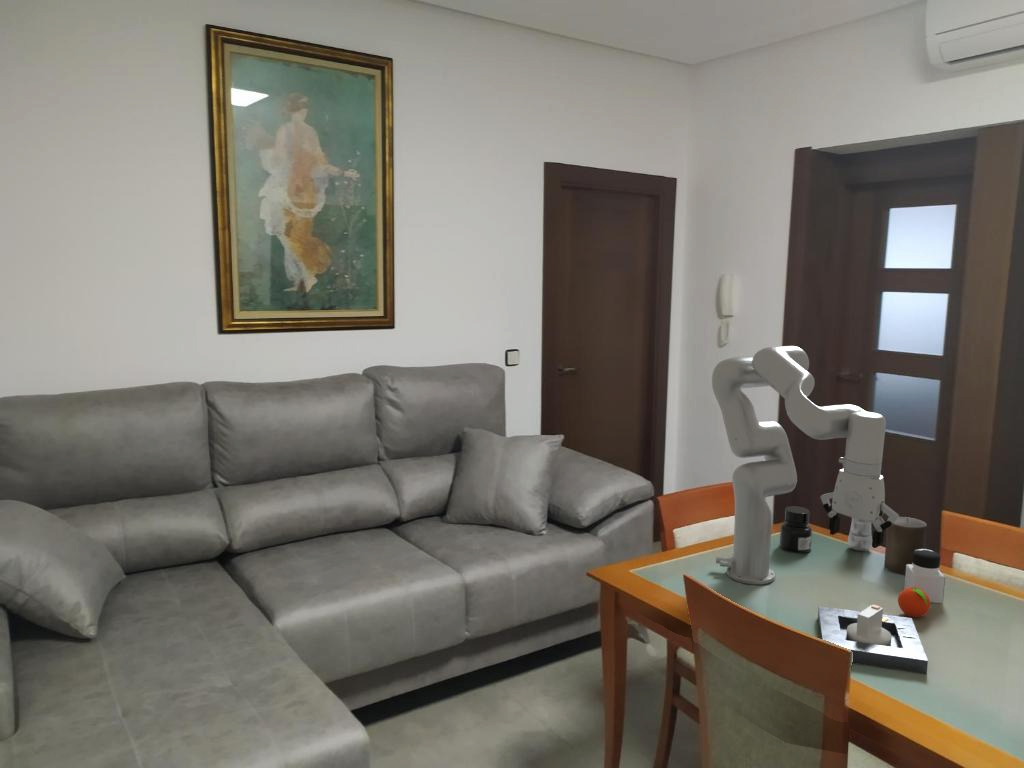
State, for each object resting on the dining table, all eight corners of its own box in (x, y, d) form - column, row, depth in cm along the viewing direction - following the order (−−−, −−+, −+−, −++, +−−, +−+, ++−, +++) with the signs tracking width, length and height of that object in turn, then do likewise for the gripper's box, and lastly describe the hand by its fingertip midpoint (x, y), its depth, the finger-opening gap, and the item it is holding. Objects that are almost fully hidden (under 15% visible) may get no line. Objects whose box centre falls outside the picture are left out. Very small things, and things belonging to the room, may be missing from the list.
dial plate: (822, 658, 163) (823, 644, 163) (817, 617, 182) (818, 605, 181) (926, 674, 157) (927, 659, 156) (910, 630, 175) (911, 617, 175)
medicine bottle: (943, 603, 189) (947, 558, 187) (912, 601, 190) (916, 556, 188) (933, 591, 196) (937, 547, 194) (903, 589, 197) (907, 545, 195)
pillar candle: (921, 578, 204) (926, 525, 202) (881, 571, 209) (885, 518, 207) (924, 567, 212) (928, 515, 210) (885, 560, 217) (889, 509, 215)
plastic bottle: (842, 545, 228) (847, 481, 225) (864, 545, 228) (869, 480, 225) (854, 553, 221) (858, 487, 218) (876, 553, 222) (881, 487, 219)
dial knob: (879, 652, 163) (882, 623, 162) (839, 637, 170) (841, 608, 168) (898, 639, 168) (900, 610, 167) (858, 625, 175) (859, 597, 174)
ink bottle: (807, 556, 220) (809, 517, 218) (775, 550, 224) (777, 511, 222) (814, 546, 228) (816, 507, 226) (784, 540, 232) (786, 503, 231)
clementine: (939, 623, 179) (941, 594, 178) (912, 625, 178) (915, 597, 177) (916, 608, 187) (918, 580, 185) (890, 610, 185) (892, 582, 184)
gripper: (817, 461, 173) (810, 532, 176) (894, 480, 160) (886, 556, 163) (833, 455, 178) (826, 524, 181) (909, 473, 165) (901, 547, 168)
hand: (854, 539), depth 172 cm, fingers open, 9 cm apart
